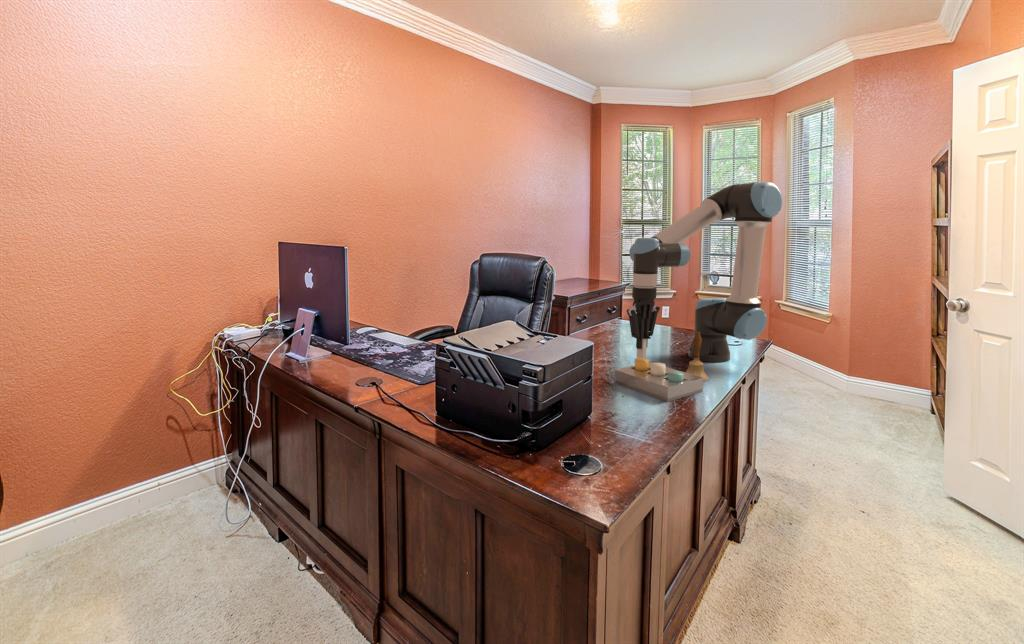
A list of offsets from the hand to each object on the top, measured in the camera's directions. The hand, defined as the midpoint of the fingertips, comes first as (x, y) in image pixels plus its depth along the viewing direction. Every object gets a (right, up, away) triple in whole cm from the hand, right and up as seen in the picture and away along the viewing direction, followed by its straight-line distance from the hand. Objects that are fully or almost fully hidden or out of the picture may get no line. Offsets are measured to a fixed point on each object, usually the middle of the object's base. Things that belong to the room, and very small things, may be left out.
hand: (641, 357), depth 167 cm
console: (+4, -9, -4) cm, 11 cm away
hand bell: (+20, -7, +5) cm, 22 cm away
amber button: (0, -5, +1) cm, 5 cm away
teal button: (+8, -8, -10) cm, 15 cm away
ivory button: (+4, -6, -5) cm, 9 cm away
